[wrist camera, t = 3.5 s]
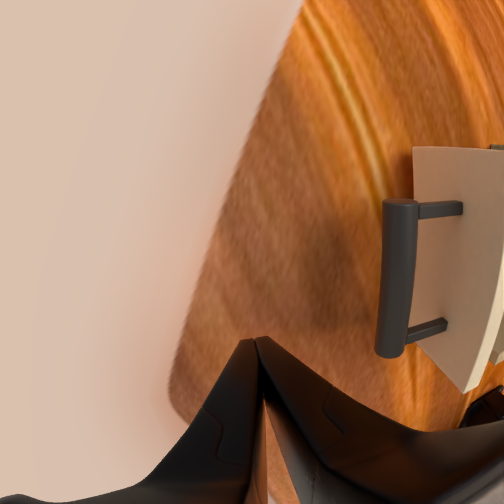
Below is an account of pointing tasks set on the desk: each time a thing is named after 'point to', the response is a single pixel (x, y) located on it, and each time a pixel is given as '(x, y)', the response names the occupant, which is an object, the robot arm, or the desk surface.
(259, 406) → the robot arm
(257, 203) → the desk surface
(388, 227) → the drawer
